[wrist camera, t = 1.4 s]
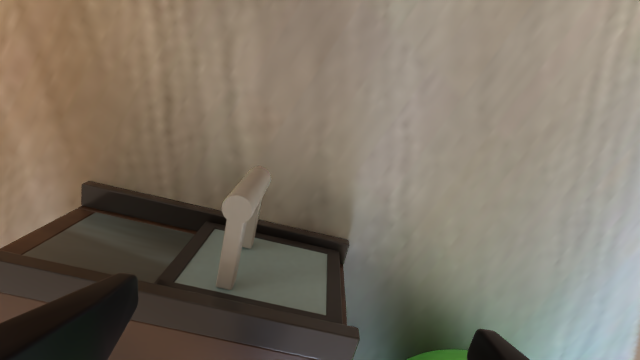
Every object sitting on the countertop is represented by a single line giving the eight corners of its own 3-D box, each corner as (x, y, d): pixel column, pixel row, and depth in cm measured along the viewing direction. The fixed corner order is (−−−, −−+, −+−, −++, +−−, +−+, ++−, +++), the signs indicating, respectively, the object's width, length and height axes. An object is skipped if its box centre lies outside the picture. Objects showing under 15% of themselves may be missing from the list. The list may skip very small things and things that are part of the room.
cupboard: (314, 356, 26) (306, 495, 17) (85, 308, 25) (-40, 428, 17) (349, 239, 23) (360, 339, 14) (88, 180, 22) (-67, 247, 13)
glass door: (336, 259, 22) (339, 339, 15) (204, 230, 22) (149, 298, 15) (359, 182, 20) (372, 233, 14) (216, 148, 20) (159, 185, 13)
